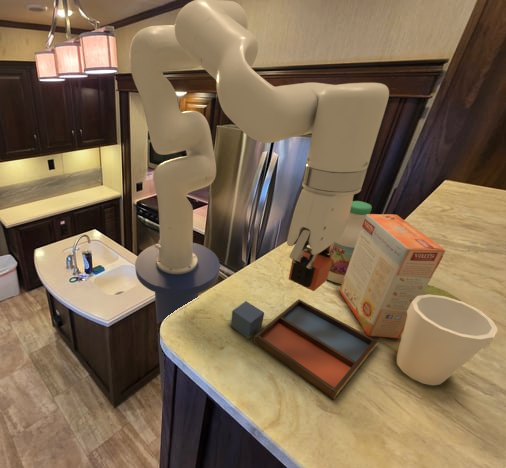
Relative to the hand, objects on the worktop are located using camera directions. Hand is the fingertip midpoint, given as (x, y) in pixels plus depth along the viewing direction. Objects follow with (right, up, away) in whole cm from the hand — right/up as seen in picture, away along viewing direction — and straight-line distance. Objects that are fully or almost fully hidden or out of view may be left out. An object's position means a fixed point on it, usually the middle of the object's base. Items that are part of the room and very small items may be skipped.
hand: (308, 275), depth 51 cm
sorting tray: (+4, -14, +6) cm, 16 cm away
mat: (+33, -8, +13) cm, 37 cm away
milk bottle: (+21, -3, +24) cm, 32 cm away
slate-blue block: (-7, -13, +11) cm, 18 cm away
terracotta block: (0, -1, 0) cm, 1 cm away
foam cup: (+20, -17, 0) cm, 26 cm away
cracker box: (+20, -10, +12) cm, 25 cm away
